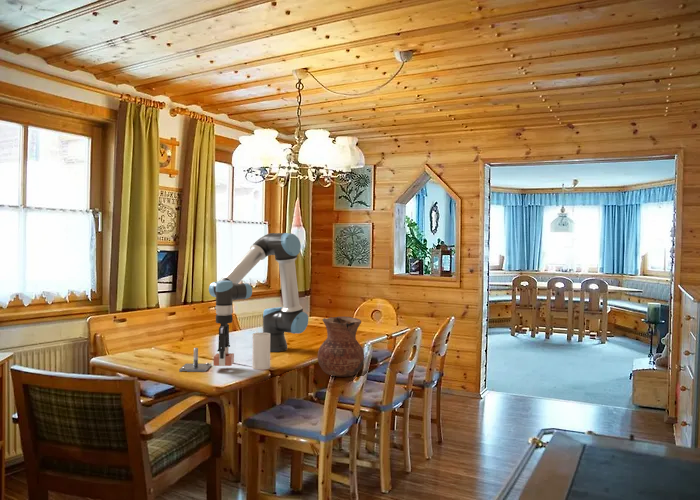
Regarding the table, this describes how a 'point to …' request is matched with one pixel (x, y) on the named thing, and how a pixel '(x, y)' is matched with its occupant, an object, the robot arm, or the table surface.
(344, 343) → the brown clay vase
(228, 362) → the link
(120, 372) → the table surface
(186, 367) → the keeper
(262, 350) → the cup
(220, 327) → the robot arm
